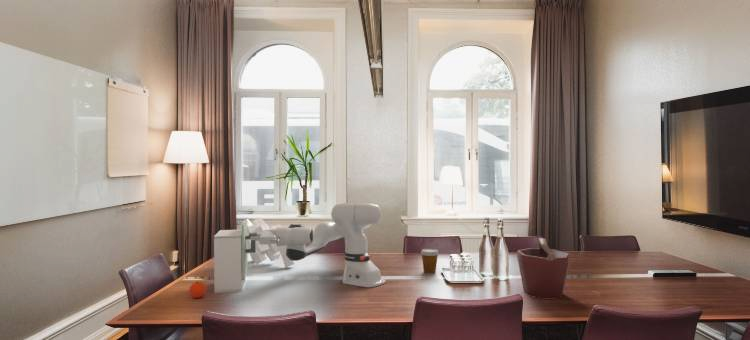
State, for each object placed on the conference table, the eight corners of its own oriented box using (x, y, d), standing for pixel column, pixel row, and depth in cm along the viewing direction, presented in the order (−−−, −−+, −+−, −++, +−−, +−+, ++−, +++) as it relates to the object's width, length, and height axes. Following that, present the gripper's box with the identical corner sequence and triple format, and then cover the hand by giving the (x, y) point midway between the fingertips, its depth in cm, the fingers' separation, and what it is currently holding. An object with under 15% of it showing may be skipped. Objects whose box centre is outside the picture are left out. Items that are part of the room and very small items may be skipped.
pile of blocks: (300, 268, 265) (284, 216, 276) (297, 260, 237) (280, 202, 248) (243, 288, 257) (229, 233, 268) (233, 281, 229) (218, 220, 240)
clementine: (203, 293, 197) (203, 278, 197) (211, 296, 193) (211, 280, 193) (186, 297, 191) (186, 281, 191) (194, 301, 187) (194, 284, 187)
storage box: (245, 280, 218) (245, 229, 218) (241, 291, 201) (241, 235, 200) (220, 282, 216) (219, 230, 216) (214, 292, 198) (213, 236, 198)
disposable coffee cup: (418, 273, 233) (418, 251, 233) (423, 269, 242) (423, 248, 242) (436, 275, 230) (436, 252, 230) (440, 271, 239) (440, 249, 238)
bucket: (565, 305, 182) (565, 245, 182) (511, 297, 193) (511, 241, 192) (570, 290, 203) (571, 236, 203) (522, 283, 214) (522, 233, 214)
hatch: (258, 267, 220) (258, 219, 220) (255, 277, 202) (255, 224, 201) (245, 268, 219) (245, 219, 218) (242, 278, 200) (241, 225, 200)
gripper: (279, 247, 203) (248, 248, 200) (280, 239, 223) (252, 240, 220) (279, 233, 202) (248, 234, 200) (280, 227, 223) (252, 228, 220)
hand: (250, 237), depth 210 cm, fingers closed on hatch, 2 cm apart
